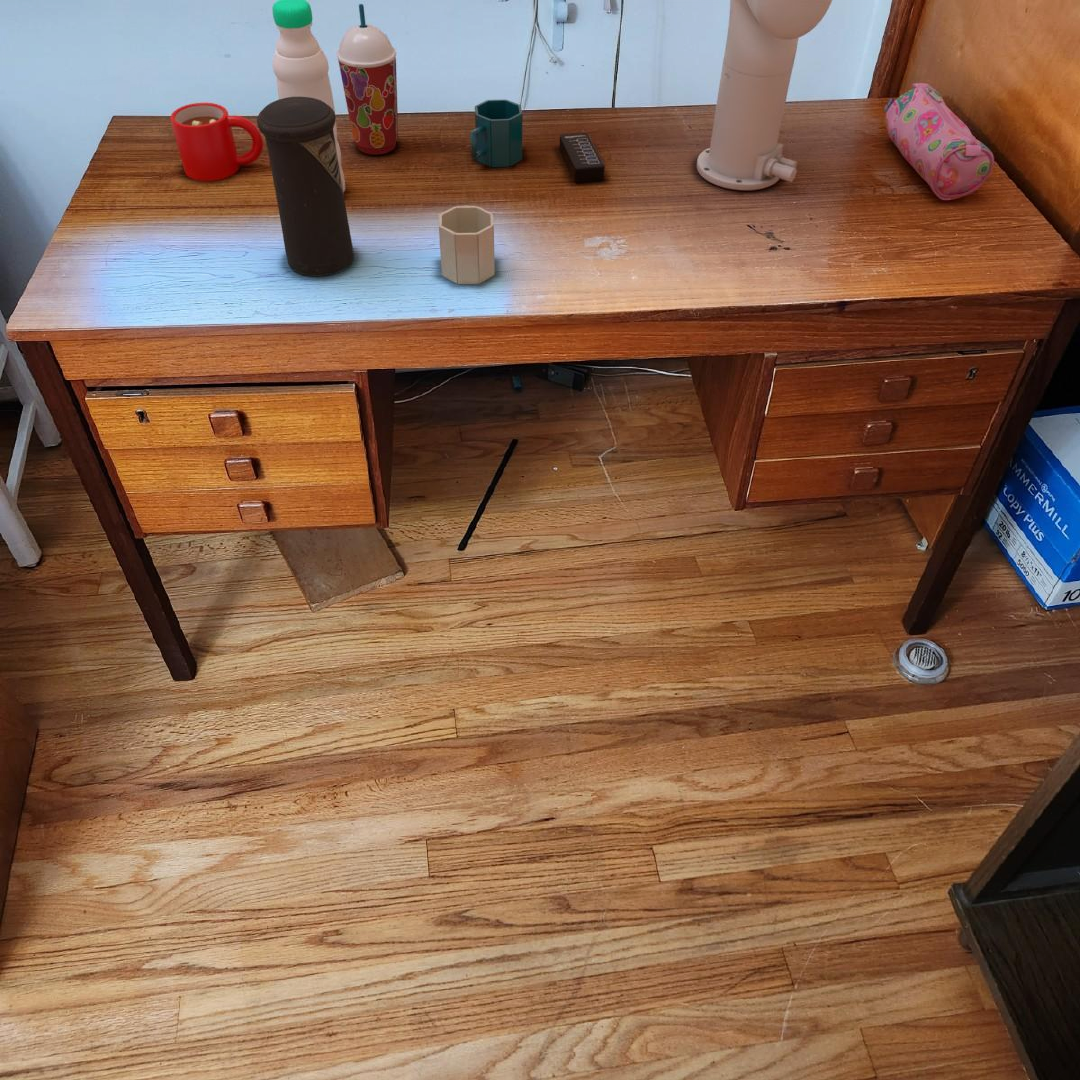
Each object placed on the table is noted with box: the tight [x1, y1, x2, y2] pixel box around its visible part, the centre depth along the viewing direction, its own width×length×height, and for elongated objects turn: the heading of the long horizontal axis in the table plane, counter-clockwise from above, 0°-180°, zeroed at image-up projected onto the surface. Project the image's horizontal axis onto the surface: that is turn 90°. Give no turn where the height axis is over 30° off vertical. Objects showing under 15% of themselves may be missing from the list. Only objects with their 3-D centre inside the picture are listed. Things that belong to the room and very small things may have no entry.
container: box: [256, 97, 355, 277], centre depth 118 cm, size 9×9×20 cm
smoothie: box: [336, 3, 399, 156], centre depth 139 cm, size 8×8×20 cm
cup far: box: [469, 99, 523, 168], centre depth 142 cm, size 9×7×7 cm
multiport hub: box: [558, 132, 606, 184], centre depth 143 cm, size 4×11×2 cm, turn 12°
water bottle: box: [271, 0, 346, 193], centre depth 127 cm, size 7×7×25 cm
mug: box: [170, 102, 264, 182], centre depth 138 cm, size 8×12×8 cm, turn 97°
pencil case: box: [883, 82, 995, 201], centre depth 141 cm, size 21×9×9 cm, turn 5°
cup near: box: [438, 204, 496, 285], centre depth 123 cm, size 9×7×7 cm
